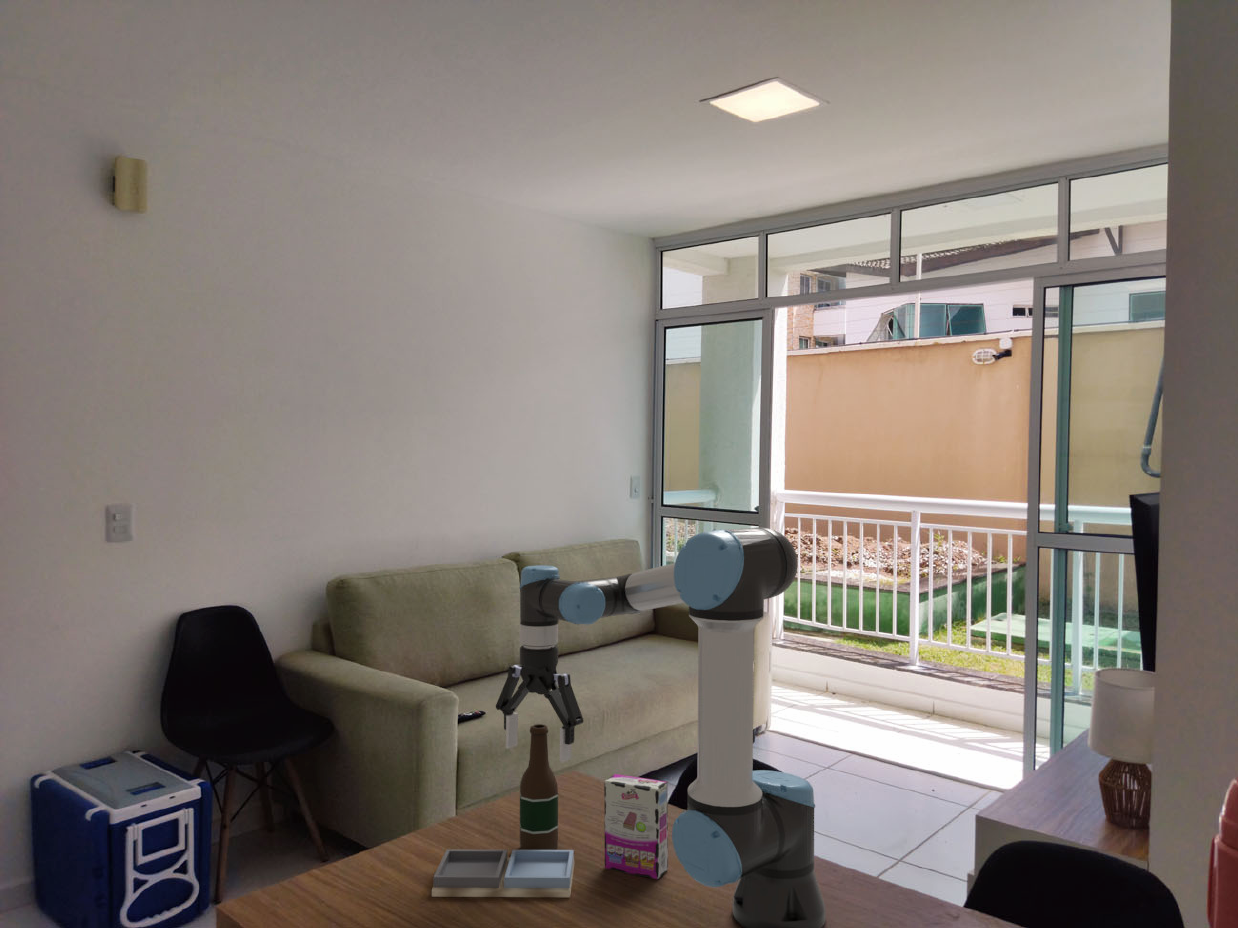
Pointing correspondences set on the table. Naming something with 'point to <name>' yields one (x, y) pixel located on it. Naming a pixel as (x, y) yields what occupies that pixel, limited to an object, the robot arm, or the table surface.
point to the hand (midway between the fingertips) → (538, 753)
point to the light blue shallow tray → (539, 869)
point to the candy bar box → (636, 825)
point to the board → (503, 890)
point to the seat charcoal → (470, 869)
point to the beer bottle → (538, 797)
